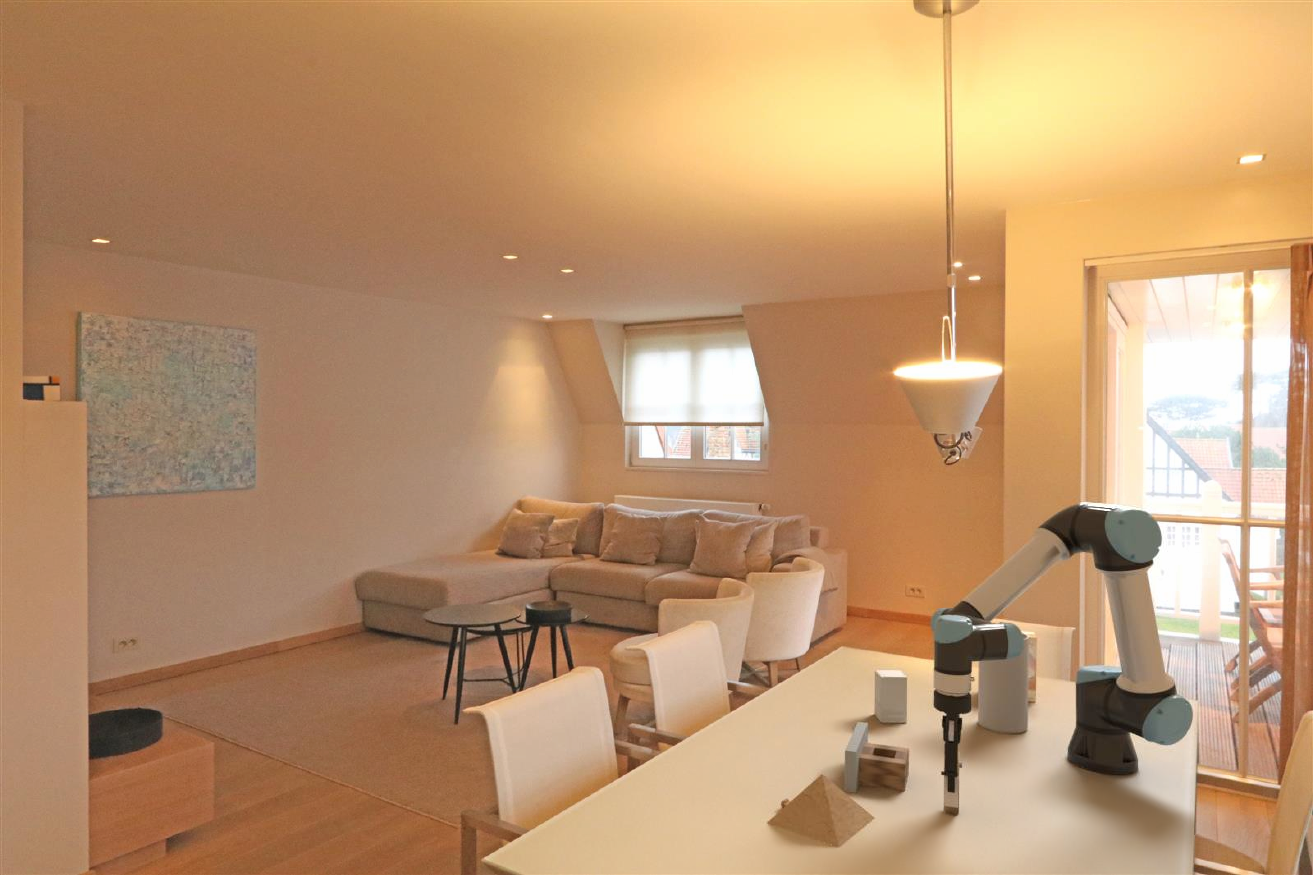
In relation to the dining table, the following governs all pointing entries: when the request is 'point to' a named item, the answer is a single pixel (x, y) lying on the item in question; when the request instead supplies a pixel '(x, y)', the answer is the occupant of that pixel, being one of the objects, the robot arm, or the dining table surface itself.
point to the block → (884, 766)
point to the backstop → (854, 756)
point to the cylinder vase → (1004, 693)
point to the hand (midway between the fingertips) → (951, 802)
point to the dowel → (953, 809)
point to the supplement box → (890, 696)
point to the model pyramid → (822, 813)
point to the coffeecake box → (1032, 666)
